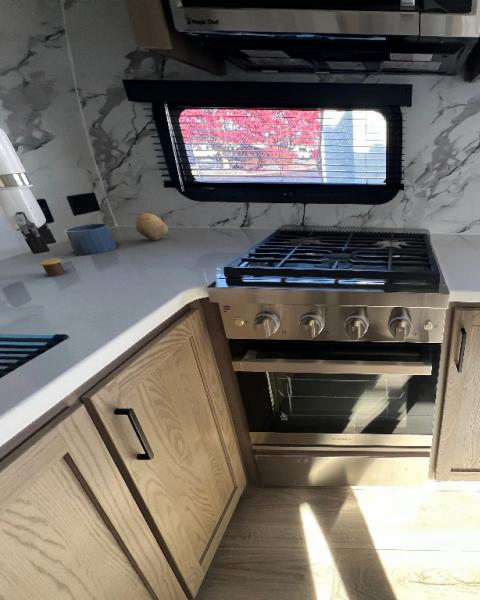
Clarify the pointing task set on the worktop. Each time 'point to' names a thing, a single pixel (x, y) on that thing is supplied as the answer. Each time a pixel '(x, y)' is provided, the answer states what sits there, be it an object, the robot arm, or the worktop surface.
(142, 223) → the potato
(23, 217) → the robot arm
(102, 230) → the canister
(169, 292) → the worktop surface
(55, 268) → the coffee pod
